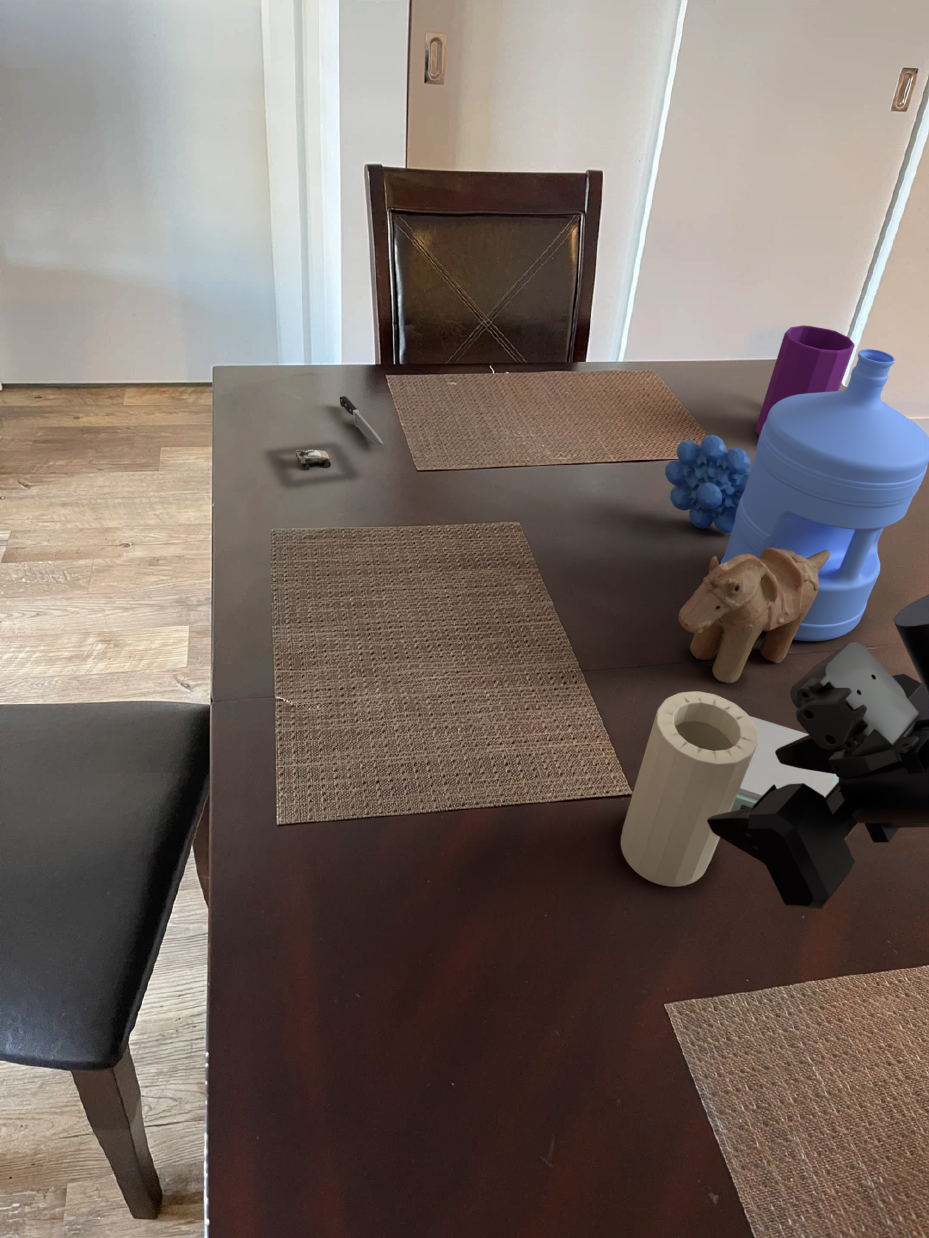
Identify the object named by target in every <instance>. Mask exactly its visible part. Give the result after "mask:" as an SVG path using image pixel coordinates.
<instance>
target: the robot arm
mask: <svg viewBox="0 0 929 1238" xmlns="http://www.w3.org/2000/svg"><path fill="white" fill-rule="evenodd" d="M893 623H894V626H895V628H896V630H897V632H898V634H899V636H900V638H901V640H902V642H903V645H904V647H905V649H906V652H907V654H908V656H909V658H910V660H911V662H912V665H913V667H914V669H915V672H916V673H917V675H918V677H919V680H920V681H918V680H916V679H915V678H912V677H911V676H909V675H907V674H905V673H900V674H893V675H892V674H891V673H890V672H889V671H888V670H887V669H886V667H884V666H883V664H882V663H880V661H879V660H878V659H877V658H876V657H875V656H874V655H873V653H872V652H870V650H869V649H868V648H867V647H866V646H865V645H864V644H862V643H861V642H858V641H849V642H847V643H846V644H844V645H843V646H841V647H840V648H839V649H837V650H836V651H834V652H833V653H831V654H830V655H828V656H827V657H826V658H824V659H823V660H821V661H820V662H818V663H817V664H815V665H813V666H812V667H811V669H810V670H809V671H808V672H807V673H806V674H805V675H804V676H803V677H801V679H799V680H798V681H797V682H796V683H794V684H793V685H792V687H791V688H790V691H789V692H790V693H789V696H790V699H791V701H792V703H793V705H794V706H795V707H796V708H797V709H796V711H795V718H796V721H797V722H798V724H799V725H800V726H801V727H802V728H803V730H805V733H806V732H807V733H806V734H809V735H807V736H805V737H802V738H800V739H798V740H796V741H793V742H791V743H789V744H787V745H784V746H782V747H780V748H778V749H777V750H776V751H775V754H776V756H777V758H778V760H779V762H780V763H781V764H784V765H788V766H792V767H796V768H800V769H806V770H812V771H819V772H825V773H831V774H836V776H837V777H838V778H839V781H838V783H837V784H836V785H835V786H834V787H833V789H832V790H831V791H830V792H829V793H828V794H827V795H826V797H824V796H823V795H822V794H820V793H818V792H817V791H815V790H814V789H812V788H811V787H809V786H807V785H806V784H804V783H797V784H787V785H785V786H783V787H781V788H778V789H777V788H776V786H775V784H774V785H772V786H771V787H770V788H769V789H768V790H767V791H766V792H765V794H764V795H763V796H762V797H761V798H760V799H759V800H758V801H757V802H756V803H755V804H754V805H753V806H752V807H751V808H746V809H741V810H736V811H731V812H725V813H721V814H718V815H714V816H711V817H709V818H708V820H707V822H708V824H709V826H710V828H711V830H712V832H713V833H714V834H715V835H717V836H719V837H720V839H722V840H724V841H726V842H728V843H729V844H731V845H732V846H734V847H735V848H737V849H739V850H741V851H743V852H744V853H746V854H748V855H749V856H751V857H752V858H754V859H756V860H757V861H759V862H760V863H762V864H763V865H764V866H766V869H767V871H768V873H769V875H770V877H771V879H772V881H773V883H774V885H775V887H776V889H777V891H778V893H779V896H780V898H781V899H782V901H783V904H784V906H787V907H791V908H796V909H797V908H798V909H813V910H822V909H823V908H824V906H825V905H826V904H827V903H828V901H829V900H830V899H831V898H832V897H833V894H834V893H835V892H836V891H837V889H838V888H839V887H840V885H841V884H842V883H843V882H844V881H845V879H846V878H847V877H848V875H849V874H850V872H851V870H852V869H853V866H854V865H855V863H856V860H855V858H854V855H853V854H852V851H851V850H850V847H849V845H848V843H847V842H846V839H847V838H848V837H849V836H850V834H851V833H852V832H853V831H854V829H856V827H857V826H858V824H864V826H865V829H866V830H867V832H868V834H869V837H870V838H871V841H872V842H873V844H874V843H875V844H876V843H890V842H891V841H892V839H893V838H894V837H895V835H896V834H897V833H898V831H899V830H900V829H906V828H907V829H908V828H910V829H911V828H929V593H928V594H926V595H924V596H922V597H920V598H918V599H916V600H914V601H913V602H911V603H909V604H907V605H906V606H905V607H903V608H901V610H899V612H897V613H896V615H895V616H894V618H893Z"/></svg>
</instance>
